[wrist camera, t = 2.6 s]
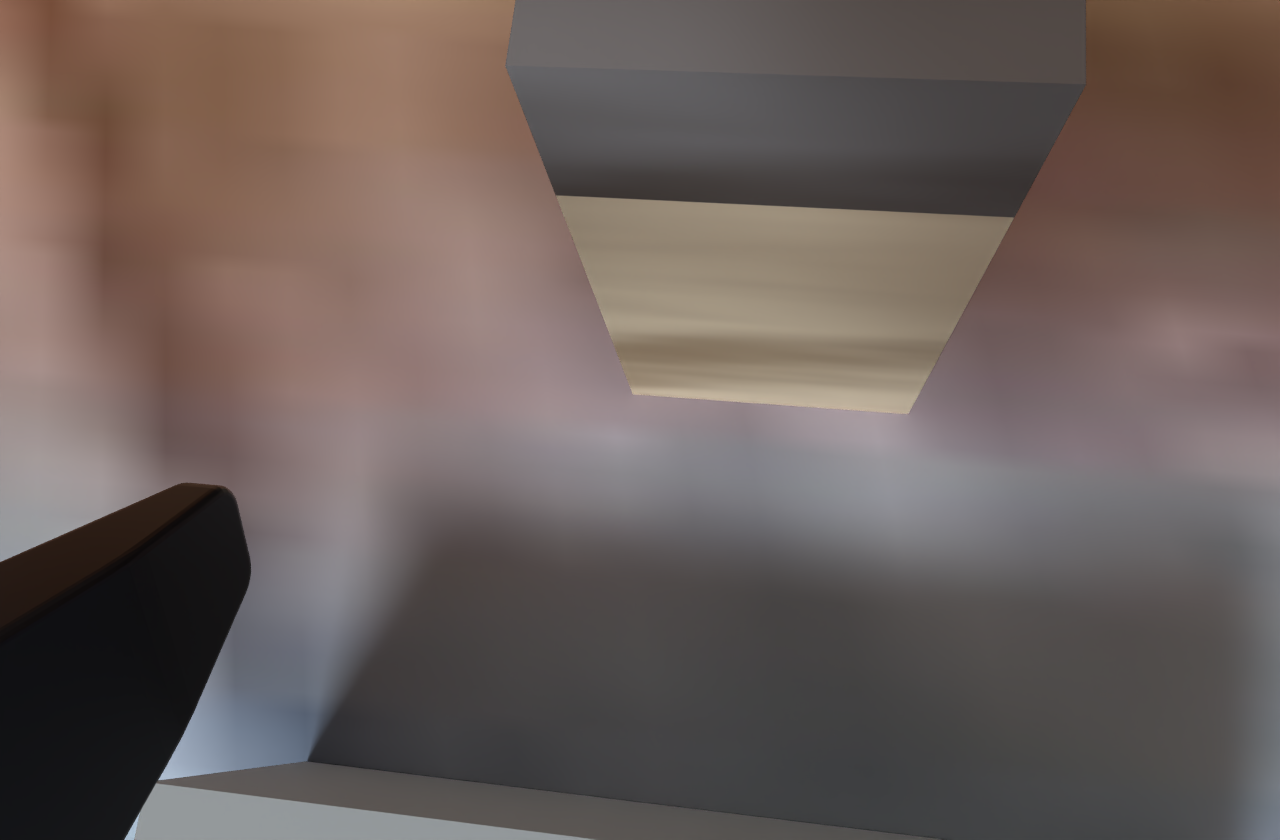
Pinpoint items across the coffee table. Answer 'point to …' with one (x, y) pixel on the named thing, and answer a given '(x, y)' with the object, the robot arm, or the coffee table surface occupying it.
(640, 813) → the slate screen
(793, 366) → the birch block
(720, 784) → the coffee table surface
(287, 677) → the coffee table surface
